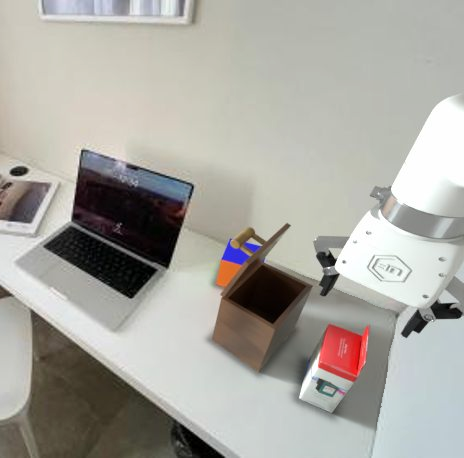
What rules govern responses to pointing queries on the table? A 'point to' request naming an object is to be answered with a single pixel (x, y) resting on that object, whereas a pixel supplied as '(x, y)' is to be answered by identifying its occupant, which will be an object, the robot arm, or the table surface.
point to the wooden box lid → (251, 253)
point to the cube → (233, 262)
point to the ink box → (334, 367)
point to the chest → (260, 314)
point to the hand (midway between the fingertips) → (363, 309)
